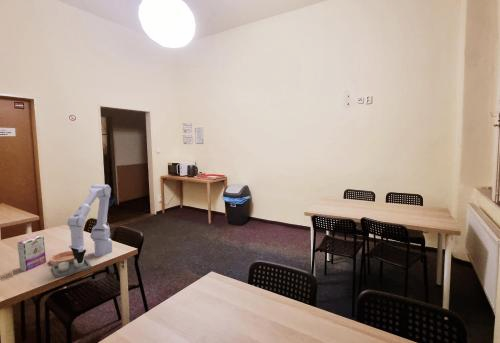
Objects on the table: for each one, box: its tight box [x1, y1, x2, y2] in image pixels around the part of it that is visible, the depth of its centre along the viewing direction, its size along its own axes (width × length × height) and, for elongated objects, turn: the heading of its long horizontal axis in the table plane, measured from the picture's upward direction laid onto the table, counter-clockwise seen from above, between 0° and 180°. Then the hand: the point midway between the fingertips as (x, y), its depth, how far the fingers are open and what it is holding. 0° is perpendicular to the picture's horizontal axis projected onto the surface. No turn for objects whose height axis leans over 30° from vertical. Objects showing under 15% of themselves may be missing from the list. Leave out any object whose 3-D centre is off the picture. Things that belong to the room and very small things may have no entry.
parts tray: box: [51, 257, 92, 279], centre depth 145 cm, size 16×14×2 cm
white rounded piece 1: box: [58, 262, 69, 273], centre depth 142 cm, size 5×5×4 cm
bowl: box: [49, 250, 75, 266], centre depth 156 cm, size 15×15×3 cm
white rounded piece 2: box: [74, 257, 85, 268], centre depth 147 cm, size 5×5×4 cm
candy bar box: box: [16, 235, 47, 272], centre depth 146 cm, size 11×5×16 cm, turn 168°
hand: (78, 260), depth 147 cm, fingers open, 7 cm apart
